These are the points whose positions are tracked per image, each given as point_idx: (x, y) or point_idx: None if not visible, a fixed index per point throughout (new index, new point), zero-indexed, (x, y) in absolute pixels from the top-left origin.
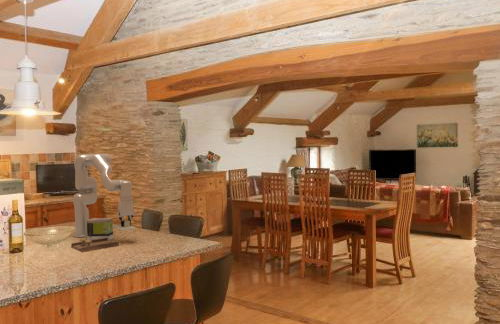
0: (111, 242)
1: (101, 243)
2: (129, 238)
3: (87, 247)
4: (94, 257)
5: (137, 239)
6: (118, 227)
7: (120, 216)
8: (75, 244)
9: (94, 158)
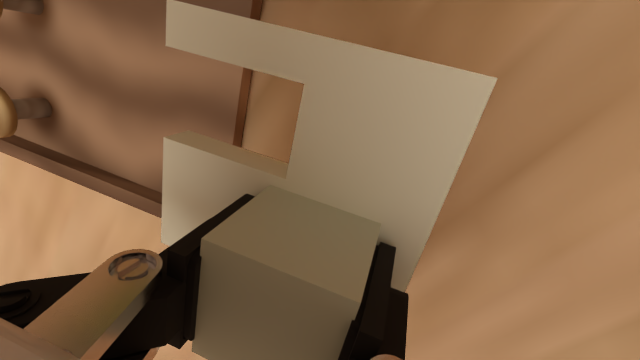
0: (216, 133)
1: (147, 85)
2: (528, 65)
3: (14, 154)
4: None
5: (515, 198)
6: (173, 223)
7: (24, 329)
8: None
9: None
